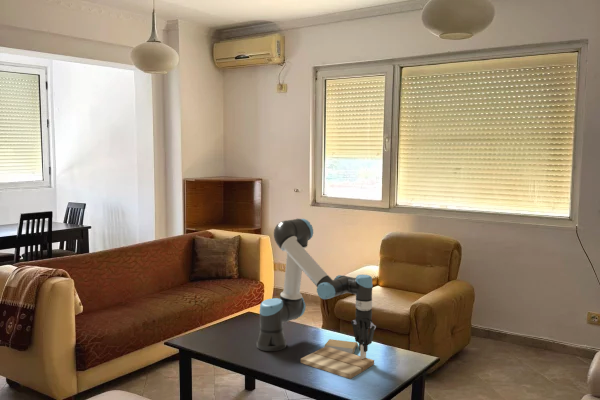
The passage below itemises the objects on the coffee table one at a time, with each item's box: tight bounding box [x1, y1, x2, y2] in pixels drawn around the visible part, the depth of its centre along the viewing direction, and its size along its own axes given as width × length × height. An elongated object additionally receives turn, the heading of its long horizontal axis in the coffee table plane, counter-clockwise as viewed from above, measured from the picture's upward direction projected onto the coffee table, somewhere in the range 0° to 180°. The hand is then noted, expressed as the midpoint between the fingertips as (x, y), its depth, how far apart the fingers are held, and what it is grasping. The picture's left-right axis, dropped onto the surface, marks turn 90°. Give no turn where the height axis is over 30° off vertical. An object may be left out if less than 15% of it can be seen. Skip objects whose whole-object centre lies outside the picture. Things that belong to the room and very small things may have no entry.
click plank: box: [312, 345, 375, 373], centre depth 249 cm, size 28×10×2 cm, turn 51°
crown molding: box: [323, 338, 359, 354], centre depth 264 cm, size 14×15×4 cm
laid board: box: [300, 352, 363, 380], centre depth 241 cm, size 28×9×2 cm, turn 51°
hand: (363, 357), depth 246 cm, fingers closed
